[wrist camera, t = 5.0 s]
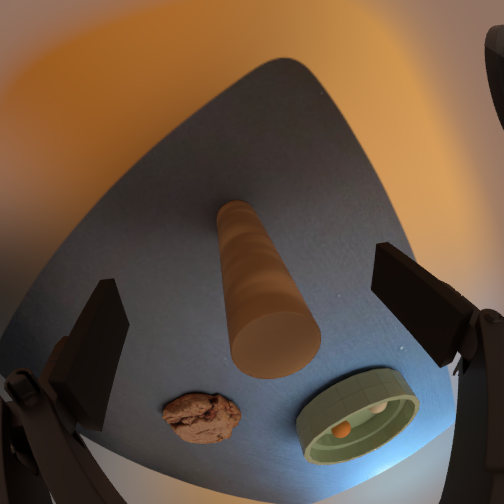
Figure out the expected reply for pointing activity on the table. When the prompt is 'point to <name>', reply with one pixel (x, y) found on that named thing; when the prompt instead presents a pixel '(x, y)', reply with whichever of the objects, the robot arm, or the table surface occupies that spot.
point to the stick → (261, 299)
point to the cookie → (202, 418)
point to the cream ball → (378, 408)
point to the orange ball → (341, 429)
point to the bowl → (356, 416)
